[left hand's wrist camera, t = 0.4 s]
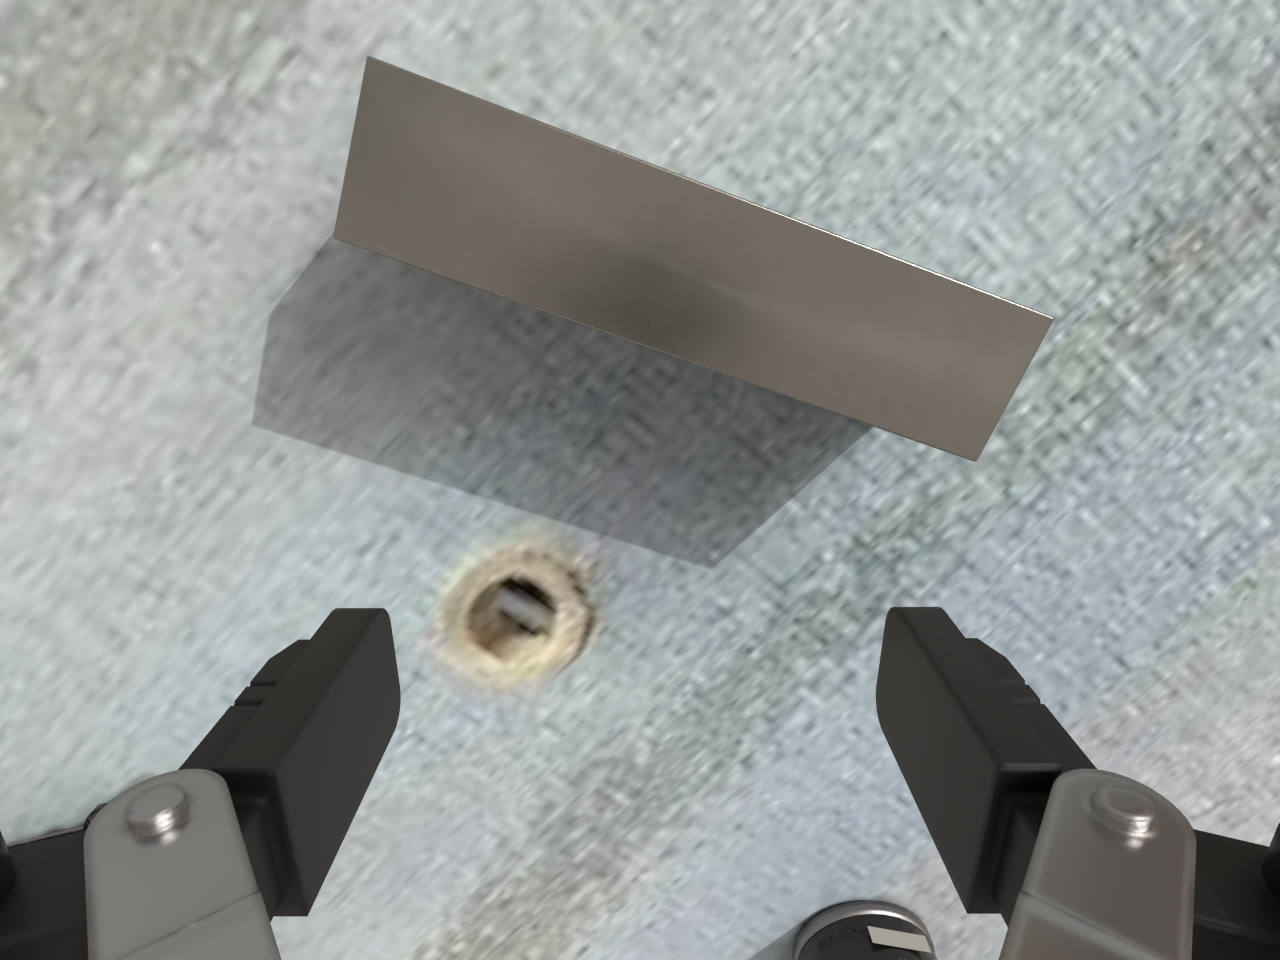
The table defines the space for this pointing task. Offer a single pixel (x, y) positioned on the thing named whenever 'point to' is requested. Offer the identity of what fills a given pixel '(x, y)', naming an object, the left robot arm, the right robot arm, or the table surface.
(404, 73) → the bar
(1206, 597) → the table surface
